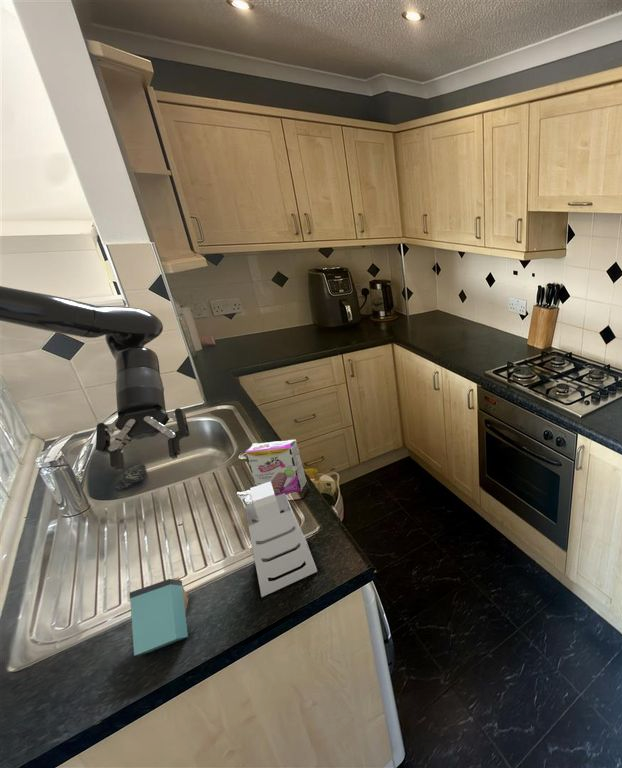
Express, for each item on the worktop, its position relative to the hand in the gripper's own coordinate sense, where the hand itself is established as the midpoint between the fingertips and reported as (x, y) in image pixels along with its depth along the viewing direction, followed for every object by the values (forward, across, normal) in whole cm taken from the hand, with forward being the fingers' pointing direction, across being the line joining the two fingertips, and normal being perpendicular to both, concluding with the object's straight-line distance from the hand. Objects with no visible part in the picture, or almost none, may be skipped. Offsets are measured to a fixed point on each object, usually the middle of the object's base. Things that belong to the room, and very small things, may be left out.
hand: (147, 463), depth 82 cm
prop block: (+28, 0, +8) cm, 29 cm away
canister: (+33, 0, +3) cm, 33 cm away
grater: (+28, +19, +8) cm, 35 cm away
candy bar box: (+8, +20, +28) cm, 36 cm away
